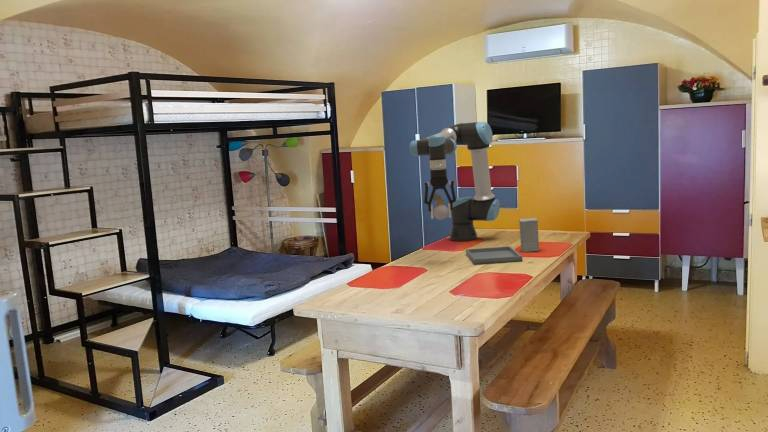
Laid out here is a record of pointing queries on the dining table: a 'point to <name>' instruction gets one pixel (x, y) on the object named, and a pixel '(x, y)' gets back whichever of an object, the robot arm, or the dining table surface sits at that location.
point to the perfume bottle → (440, 208)
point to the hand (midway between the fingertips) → (440, 217)
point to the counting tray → (493, 255)
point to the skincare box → (529, 234)
